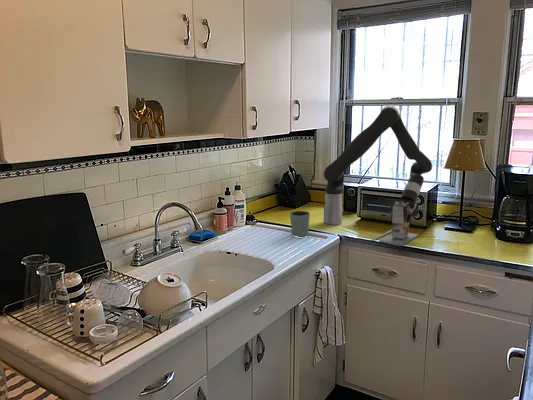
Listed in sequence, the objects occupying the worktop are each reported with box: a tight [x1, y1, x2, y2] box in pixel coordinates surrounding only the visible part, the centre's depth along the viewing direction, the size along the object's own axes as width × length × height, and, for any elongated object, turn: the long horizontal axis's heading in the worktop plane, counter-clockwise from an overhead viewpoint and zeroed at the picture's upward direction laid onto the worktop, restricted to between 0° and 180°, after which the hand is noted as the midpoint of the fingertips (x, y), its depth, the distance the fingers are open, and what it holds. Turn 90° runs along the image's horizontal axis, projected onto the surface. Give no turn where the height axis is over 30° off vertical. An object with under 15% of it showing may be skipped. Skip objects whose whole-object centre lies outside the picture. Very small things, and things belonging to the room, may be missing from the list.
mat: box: [379, 232, 419, 247], centre depth 224 cm, size 11×20×1 cm, turn 139°
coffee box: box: [390, 201, 410, 239], centre depth 222 cm, size 9×6×16 cm
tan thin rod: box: [370, 229, 392, 242], centre depth 230 cm, size 2×22×1 cm, turn 139°
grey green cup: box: [289, 210, 311, 237], centre depth 232 cm, size 10×10×12 cm
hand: (399, 220), depth 221 cm, fingers closed on coffee box, 7 cm apart
